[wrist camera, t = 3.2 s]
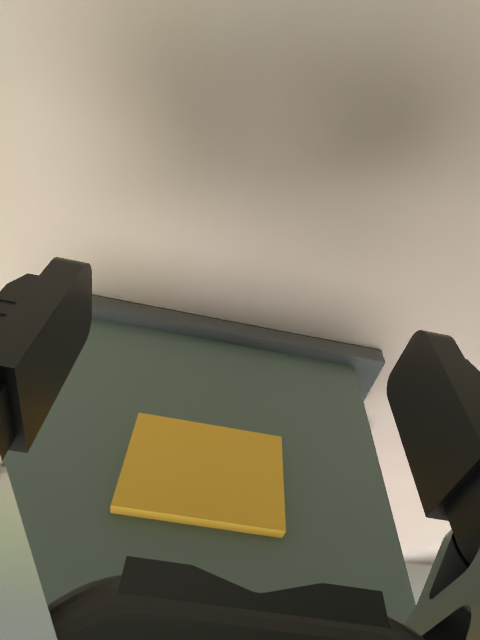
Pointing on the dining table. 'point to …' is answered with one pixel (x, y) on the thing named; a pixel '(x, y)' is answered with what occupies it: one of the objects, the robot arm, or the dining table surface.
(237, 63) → the dining table surface
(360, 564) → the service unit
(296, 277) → the dining table surface
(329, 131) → the dining table surface
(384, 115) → the dining table surface
